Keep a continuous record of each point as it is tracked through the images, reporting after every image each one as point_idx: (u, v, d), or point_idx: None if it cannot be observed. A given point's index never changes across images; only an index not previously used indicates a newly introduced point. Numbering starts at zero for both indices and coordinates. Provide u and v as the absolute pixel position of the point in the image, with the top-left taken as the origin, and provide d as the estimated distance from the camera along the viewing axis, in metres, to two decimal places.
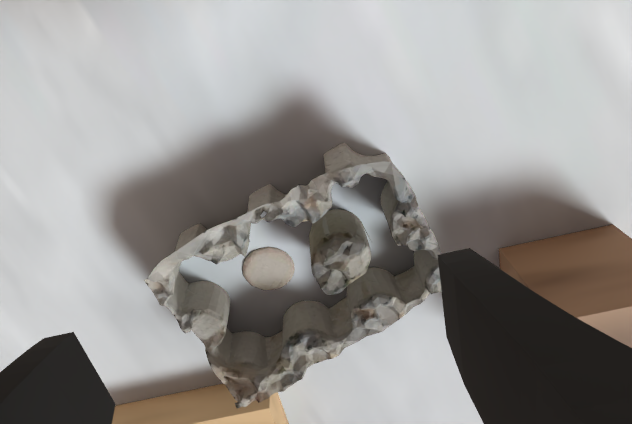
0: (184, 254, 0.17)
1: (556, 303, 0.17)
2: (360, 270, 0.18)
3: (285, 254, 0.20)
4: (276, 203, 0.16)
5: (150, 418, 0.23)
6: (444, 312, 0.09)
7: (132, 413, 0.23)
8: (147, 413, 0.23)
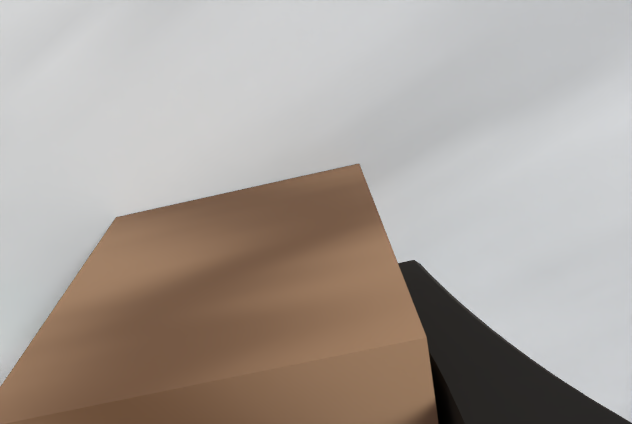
0: None
1: None
2: None
3: None
4: None
5: None
6: None
7: None
8: None
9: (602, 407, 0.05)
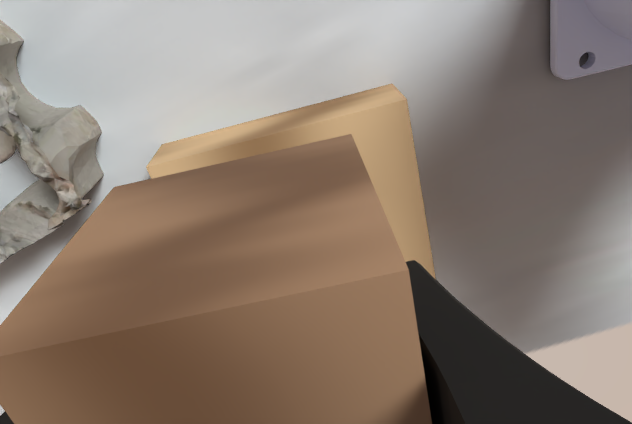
0: None
1: None
2: None
3: None
4: None
5: None
6: None
7: None
8: None
9: (602, 407, 0.05)
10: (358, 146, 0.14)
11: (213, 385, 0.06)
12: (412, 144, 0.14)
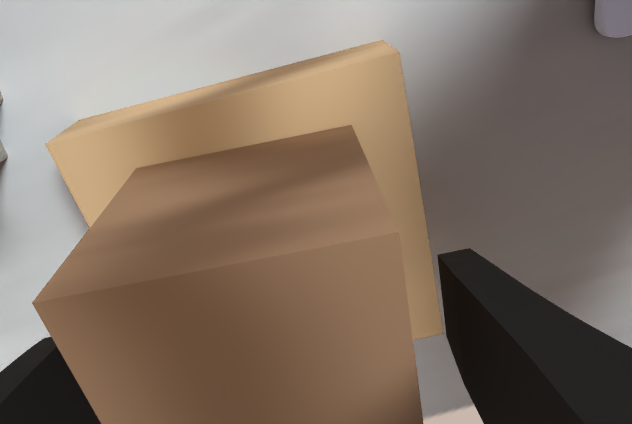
0: None
1: None
2: None
3: None
4: None
5: None
6: (444, 312, 0.09)
7: None
8: None
9: None
10: (334, 117, 0.11)
11: (233, 329, 0.07)
12: (407, 115, 0.11)
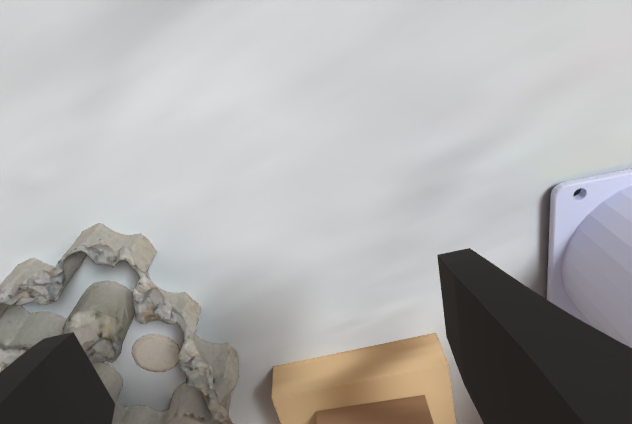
0: None
1: None
2: (95, 325, 0.19)
3: (137, 341, 0.22)
4: None
5: None
6: (444, 312, 0.09)
7: None
8: None
9: None
10: (414, 388, 0.21)
11: None
12: (450, 386, 0.22)
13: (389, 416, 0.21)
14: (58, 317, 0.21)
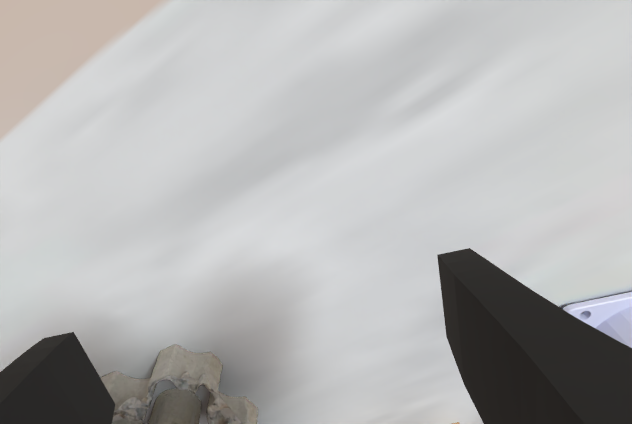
0: None
1: None
2: None
3: None
4: None
5: None
6: (444, 312, 0.09)
7: None
8: None
9: None
10: None
11: None
12: None
13: None
14: None
